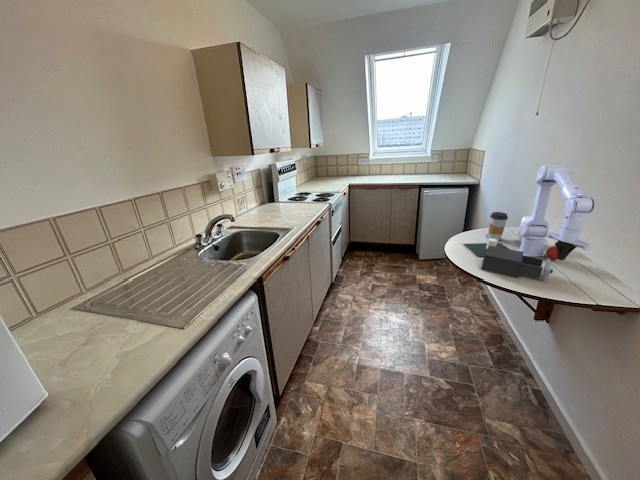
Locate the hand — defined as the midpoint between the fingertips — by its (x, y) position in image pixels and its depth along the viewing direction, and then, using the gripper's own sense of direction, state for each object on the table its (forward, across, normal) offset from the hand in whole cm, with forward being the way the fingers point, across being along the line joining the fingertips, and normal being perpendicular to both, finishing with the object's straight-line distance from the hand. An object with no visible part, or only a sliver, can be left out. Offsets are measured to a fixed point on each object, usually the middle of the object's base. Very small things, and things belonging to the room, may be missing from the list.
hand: (561, 259), depth 109 cm
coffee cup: (+10, +44, -14) cm, 48 cm away
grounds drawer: (+9, +6, +6) cm, 12 cm away
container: (+9, +33, -1) cm, 34 cm away
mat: (+9, +32, +1) cm, 34 cm away
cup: (+10, +34, -25) cm, 43 cm away
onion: (+10, +13, -16) cm, 23 cm away
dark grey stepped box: (+10, +15, +12) cm, 21 cm away
